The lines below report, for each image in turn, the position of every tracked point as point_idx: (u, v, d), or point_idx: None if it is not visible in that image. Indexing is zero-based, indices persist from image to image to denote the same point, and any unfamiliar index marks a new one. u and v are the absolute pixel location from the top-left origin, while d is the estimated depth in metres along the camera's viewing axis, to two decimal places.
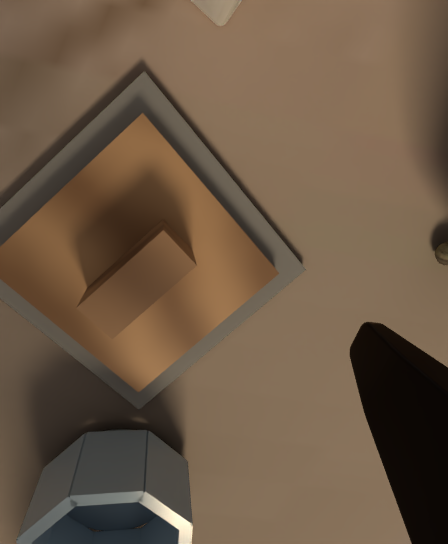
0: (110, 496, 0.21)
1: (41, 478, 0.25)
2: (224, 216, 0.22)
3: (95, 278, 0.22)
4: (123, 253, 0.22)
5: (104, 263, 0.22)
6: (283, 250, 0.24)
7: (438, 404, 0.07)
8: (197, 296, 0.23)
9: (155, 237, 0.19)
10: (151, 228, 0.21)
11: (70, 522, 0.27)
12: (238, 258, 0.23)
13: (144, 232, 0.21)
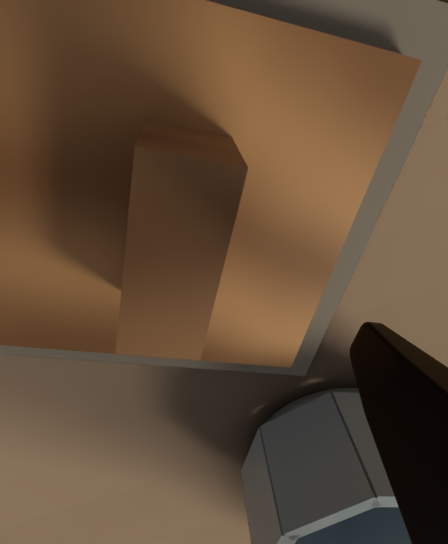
0: (334, 516, 0.15)
1: (244, 487, 0.20)
2: (244, 25, 0.10)
3: None
4: None
5: (120, 249, 0.13)
6: (405, 4, 0.11)
7: (438, 404, 0.07)
8: (291, 204, 0.12)
9: (133, 171, 0.08)
10: None
11: None
12: (322, 90, 0.11)
13: None
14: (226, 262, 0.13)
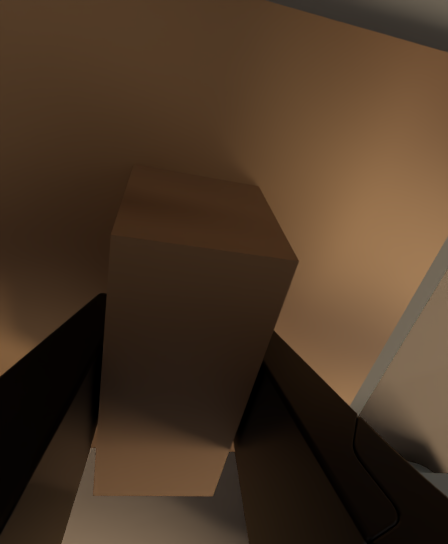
0: None
1: None
2: (285, 28, 0.06)
3: None
4: None
5: None
6: None
7: (273, 395, 0.06)
8: (335, 271, 0.09)
9: (110, 269, 0.05)
10: None
11: None
12: (392, 122, 0.07)
13: None
14: None
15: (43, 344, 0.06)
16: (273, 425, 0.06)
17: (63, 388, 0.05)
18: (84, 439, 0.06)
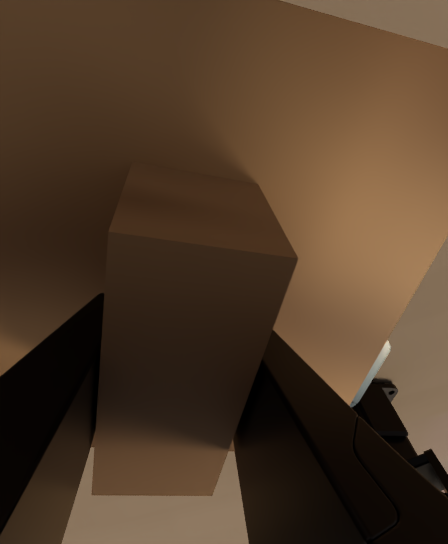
0: None
1: None
2: (284, 24, 0.06)
3: None
4: None
5: None
6: None
7: (273, 395, 0.06)
8: (335, 269, 0.09)
9: (108, 266, 0.05)
10: None
11: None
12: (392, 119, 0.07)
13: None
14: None
15: (43, 344, 0.06)
16: (273, 425, 0.06)
17: (63, 388, 0.05)
18: (84, 439, 0.06)
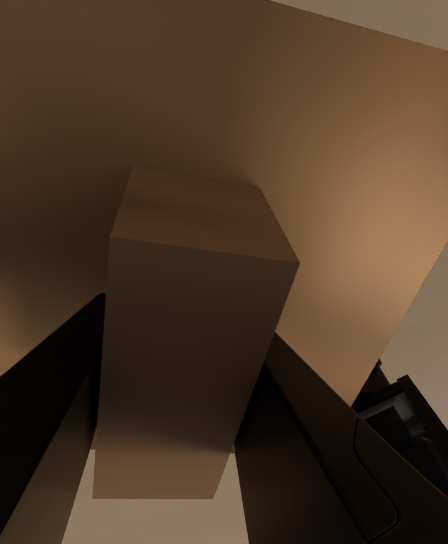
0: None
1: None
2: (285, 27, 0.06)
3: None
4: None
5: None
6: None
7: (272, 394, 0.06)
8: (336, 272, 0.09)
9: (109, 271, 0.05)
10: None
11: None
12: (393, 122, 0.07)
13: None
14: None
15: (43, 344, 0.06)
16: (273, 425, 0.06)
17: (63, 388, 0.05)
18: (84, 439, 0.06)
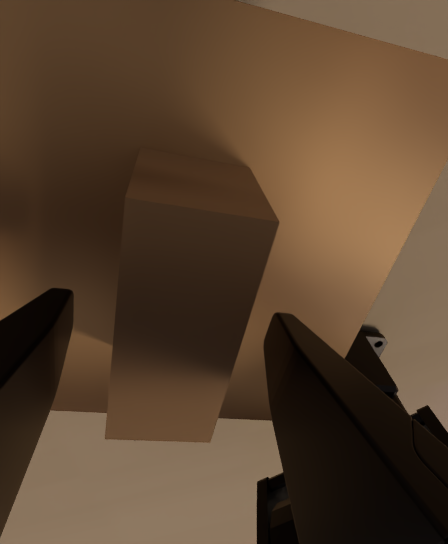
0: None
1: None
2: (270, 28, 0.07)
3: None
4: None
5: (111, 300, 0.10)
6: None
7: (324, 398, 0.06)
8: (319, 245, 0.10)
9: (124, 228, 0.06)
10: None
11: None
12: (365, 110, 0.08)
13: None
14: None
15: None
16: (327, 427, 0.06)
17: None
18: (23, 437, 0.06)
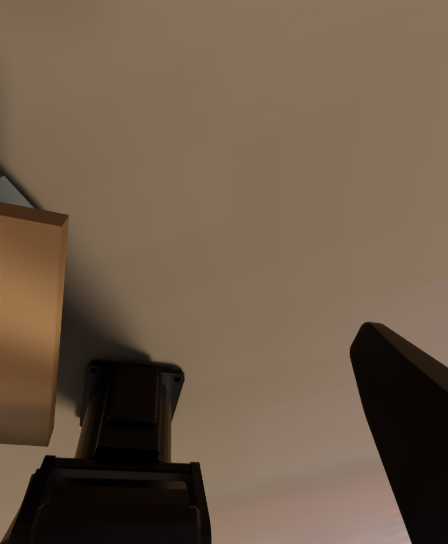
0: None
1: None
2: None
3: None
4: None
5: None
6: None
7: (438, 404, 0.07)
8: None
9: None
10: None
11: None
12: None
13: None
14: None
15: None
16: None
17: None
18: None
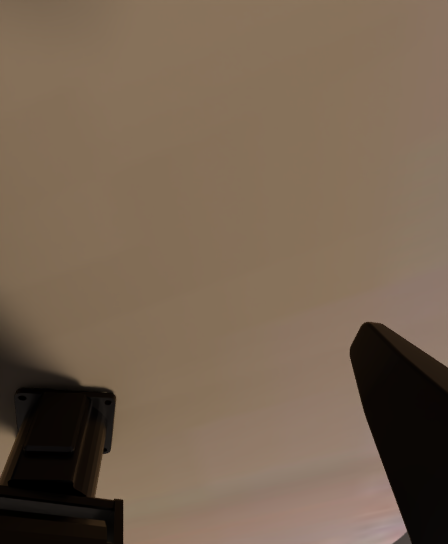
0: None
1: None
2: None
3: None
4: None
5: None
6: None
7: (438, 404, 0.07)
8: None
9: None
10: None
11: None
12: None
13: None
14: None
15: None
16: (447, 432, 0.06)
17: None
18: None
